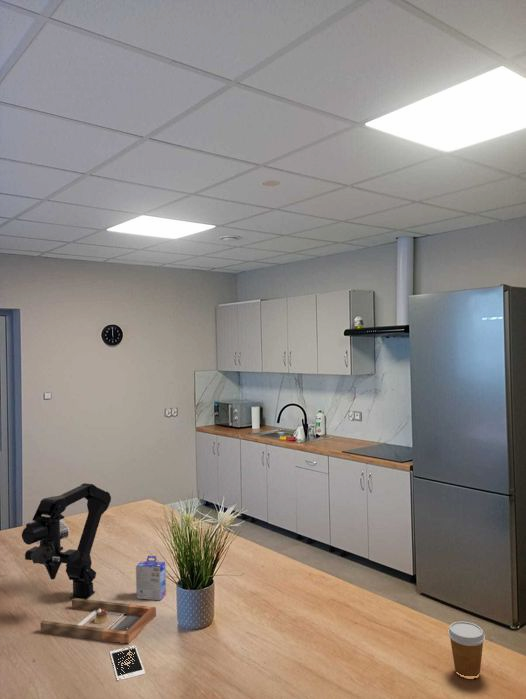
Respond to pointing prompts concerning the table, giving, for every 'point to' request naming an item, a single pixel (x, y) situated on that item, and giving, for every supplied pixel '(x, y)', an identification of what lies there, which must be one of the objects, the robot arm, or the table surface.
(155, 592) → the ink cartridge box
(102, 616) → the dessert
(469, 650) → the disposable coffee cup
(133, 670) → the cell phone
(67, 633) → the walled channel
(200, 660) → the table surface
